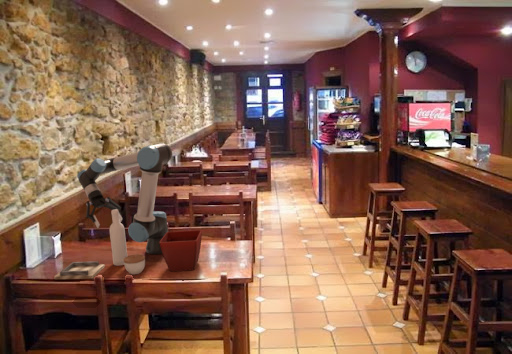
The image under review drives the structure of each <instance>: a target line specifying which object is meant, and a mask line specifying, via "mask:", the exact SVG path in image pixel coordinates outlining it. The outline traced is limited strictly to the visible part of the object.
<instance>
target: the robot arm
mask: <svg viewBox="0 0 512 354" xmlns="http://www.w3.org/2000/svg"><path fill="white" fill-rule="evenodd" d="M172 158H173V150H172V149H171V147H170V146H169V145H168V144H167V143H163V142H162V143H161V142H160V143H156V144H155V143H154V144H149V145H146V146H144V147H142V148H141V149H139V150H138V152H137V151H136V152H133V153H129V154H126V155H120V156H116V157H111V158H108V159H102V158H98V157H97V158H94V160H93V161H92V162H91V163H90V164H89V166H88V167H87V168H86V169H81V171H79V172H78V173H77V180H78V182H79V183H80V186H81V187H82V189H83V191H84V193H85V194H86V196H87V198H88V200H89V201H88V200H87V201H86V203H85V207H86V215H85V218H86V219H89V220H91V222H92V223H94V224H95V226H96V228H97V229H99V228H100V225H101V224H100V222H99V220H98V218H97V217H96V215H95V211H96V209H100V208H107V209H109V210H111V211H112V210H114V209H118V211H119V221H120V223H121V222H122V221H123V217H122V213H121V209H122V206H120V204H118V203H116V202H115V201H114V200H112V199H111V197H110V196H108V197H106V198H105V197H104V195H103V193H102V191H101V189H100V188H99V186H98V185H97V182H96V181H97V179H98V178H99V177H100V176H101V175H104V174H108V173H113V172H116V171H121V170H125V169H130V168H134V167H138V166H139V170H140V171H141V179H140V187H139V195H138V203H137V212H136V213H135V214H134V215H133V221H132V222H131V224H129V226H128V228H127V229H128V230H127V232H128V235H129V237H130V238H131V239H132V240H133V241H135V242H137V243H143V242H145V241H147V242H146V247H145V252H146V253H147V254H149V255H163V254H162V251H161V247H160V243H159V242H160V241H161V239H162V238H163V237H164V235H165V234H166V233H167V232H169V229H168V218H167V213H166V212H164V211H158V210H157V211H155V210H154V209H155V201H156V195H157V189H158V178H159V174H161V173H162V171H163V165H167V164H168V163H169V162H170V161H171V160H172ZM91 206H92V207H93V208H92V210H90V209H91ZM90 211H91V212H90Z"/></svg>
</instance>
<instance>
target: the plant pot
mask: <svg viewBox="0 0 512 354" xmlns="http://www.w3.org/2000/svg"><path fill="white" fill-rule="evenodd" d="M202 235H203V230H201V229H200V230H199V229H197V230H194V229H193V230H177V231H168V232H167V233H166V234H165V235H164V237H163V238H162V239H161V241H160V242H159V243H160V247H161V251H162V254H161V255H162V256H163V259H164V261H165V264H166V266H167V268H168V271H169V272H181V271H182V272H183V271H185V272H186V271H194V270H195V269H196V267H197V265H198V262H199V259H200V258H199V257H200V255H201V254H200V253H201V245H202V237H203V236H202Z"/></svg>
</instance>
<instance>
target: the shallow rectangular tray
mask: <svg viewBox="0 0 512 354" xmlns="http://www.w3.org/2000/svg"><path fill="white" fill-rule="evenodd" d="M99 263H100V262H99V261H72V262H71V263H70V264H68V265H67V266H65V268H63V269H62V270H61V271H59V272H58V273H57V274H56V275H54V276H53V277H54V280H80V279H81V280H83V279H84V280H85V279H94V278H95V277H96V276H97V275H99V273H100V272H101V271H102V270H103V269H104V268H105V267H106V265H105V264H103V263H100V264H99Z"/></svg>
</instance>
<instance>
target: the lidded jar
mask: <svg viewBox="0 0 512 354" xmlns="http://www.w3.org/2000/svg"><path fill="white" fill-rule="evenodd" d="M123 260H124V268H125V270H126V272H127V273H129V274H130V275H139V274H141V273H142V272H143V271H144V269H145V266H146V256H145V254H144V255H143V254H132V255H127V257H125V258H124V259H123Z"/></svg>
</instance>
